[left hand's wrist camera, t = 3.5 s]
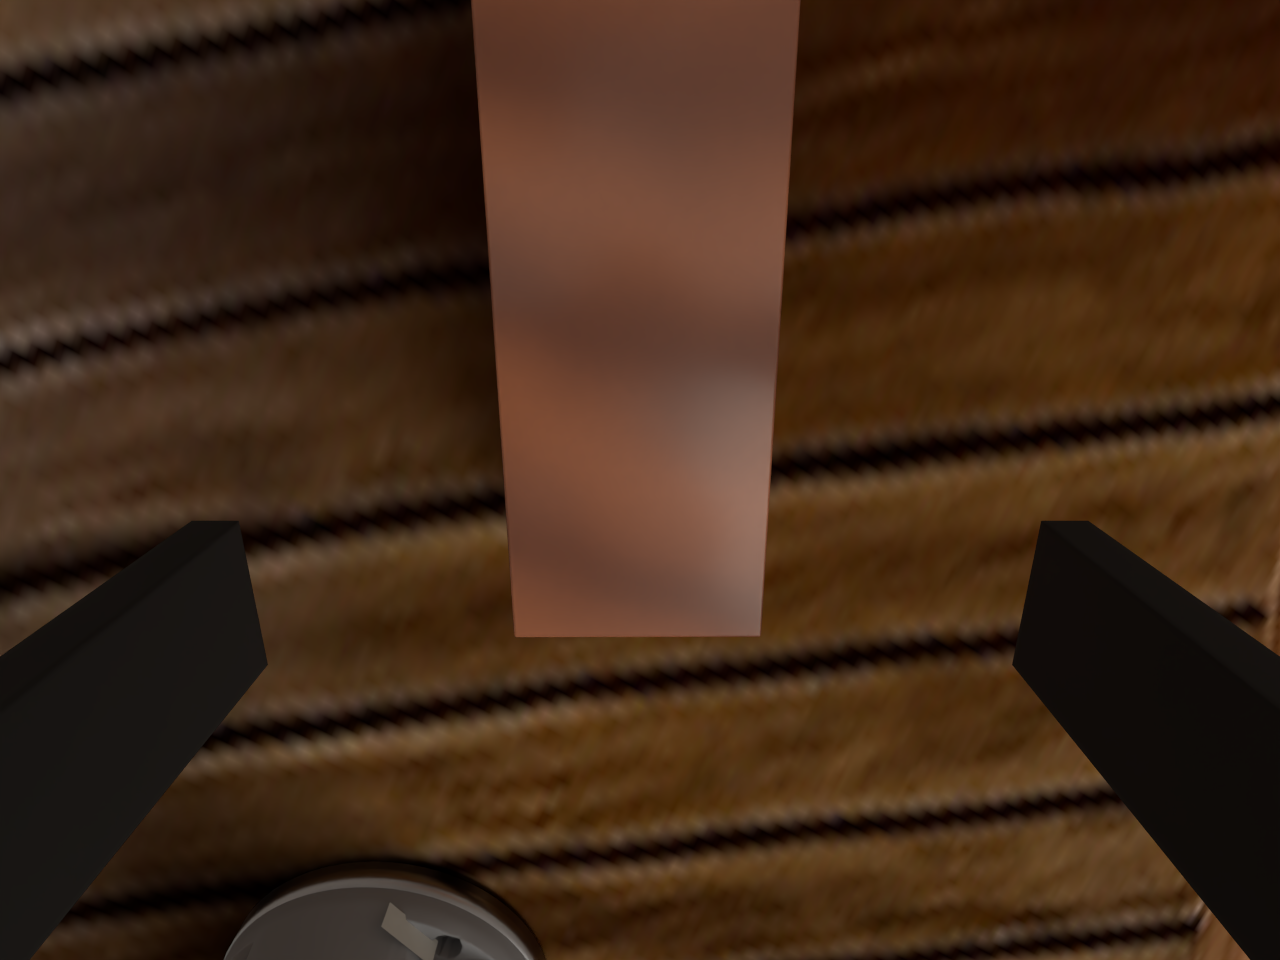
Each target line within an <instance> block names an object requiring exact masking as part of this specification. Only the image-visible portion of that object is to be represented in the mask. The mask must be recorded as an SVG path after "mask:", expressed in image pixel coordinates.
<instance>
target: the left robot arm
mask: <svg viewBox="0 0 1280 960" xmlns="http://www.w3.org/2000/svg"><path fill="white" fill-rule="evenodd" d="M267 665H268V664H267V659H266V654H265V649H264V644H263V639H262V634H261V629H260V624H259V619H258V614H257V609H256V604H255V599H254V594H253V589H252V584H251V579H250V575H249V570H248V565H247V560H246V555H245V550H244V545H243V540H242V535H241V530H240V525H239V521H191V522H190V523H188V524H187V525H185V526H184V527H183V528H181V529H180V530H178V531H177V532H175V533H174V534H173V535H171V536H170V537H168V538H167V539H166V540H164V541H163V542H161V543H160V544H159V545H157V546H156V547H154V548H153V549H152V550H150V551H149V552H147V553H146V554H144V555H143V556H142V557H140V558H139V559H137V560H136V561H135V562H133V563H132V564H130V565H129V566H128V567H126V568H125V569H123V570H122V571H120V572H119V573H118V574H116V575H115V576H113V577H112V578H111V579H109V580H108V581H106V582H105V583H104V584H102V585H101V586H99V587H98V588H96V589H95V590H94V591H92V592H91V593H89V594H88V595H87V596H85V597H84V598H82V599H81V600H80V601H78V602H77V603H75V604H74V605H72V606H71V607H70V608H68V609H67V610H65V611H64V612H63V613H61V614H60V615H58V616H57V617H56V618H54V619H53V620H51V621H50V622H48V623H47V624H46V625H44V626H43V627H41V628H40V629H39V630H37V631H36V632H34V633H33V634H32V635H30V636H29V637H27V638H26V639H24V640H23V641H22V642H20V643H19V644H17V645H16V646H15V647H13V648H12V649H10V650H9V651H8V652H6V653H5V654H3V655H2V656H0V960H30V959H31V957H32V956H33V955H34V954H35V952H36V951H37V950H38V949H39V947H40V946H41V945H42V944H43V943H44V941H45V940H46V939H47V938H48V936H49V935H50V934H51V933H52V931H53V930H54V929H55V928H56V926H57V925H58V924H59V923H60V921H61V920H62V919H63V918H64V916H65V915H66V914H67V913H68V912H69V910H70V909H71V908H72V907H73V905H74V904H75V903H76V902H77V900H78V899H79V898H80V897H81V895H82V894H83V893H84V892H85V890H86V889H87V888H88V887H89V886H90V884H91V883H92V882H93V881H94V879H95V878H96V877H97V876H98V874H99V873H100V872H101V871H102V869H103V868H104V867H105V866H106V864H107V863H108V862H109V861H110V859H111V858H112V857H113V856H114V855H115V853H116V852H117V851H118V850H119V848H120V847H121V846H122V845H123V843H124V842H125V841H126V840H127V838H128V837H129V836H130V835H131V833H132V832H133V831H134V830H135V829H136V827H137V826H138V825H139V824H140V822H141V821H142V820H143V819H144V817H145V816H146V815H147V814H148V812H149V811H150V810H151V809H152V807H153V806H154V805H155V804H156V802H157V801H158V800H159V799H160V798H161V796H162V795H163V794H164V793H165V791H166V790H167V789H168V788H169V786H170V785H171V784H172V783H173V781H174V780H175V779H176V778H177V776H178V775H179V774H180V773H181V772H182V770H183V769H184V768H185V767H186V765H187V764H188V763H189V762H190V760H191V759H192V758H193V757H194V755H195V754H196V753H197V752H198V750H199V749H200V748H201V747H202V745H203V744H204V743H205V742H206V741H207V739H208V738H209V737H210V736H211V734H212V733H213V732H214V731H215V729H216V728H217V727H218V726H219V724H220V723H221V722H222V721H223V719H224V718H225V717H226V716H227V715H228V713H229V712H230V711H231V710H232V708H233V707H234V706H235V705H236V703H237V702H238V701H239V700H240V698H241V697H242V696H243V695H244V693H245V692H246V691H247V690H248V688H249V687H250V686H251V685H252V684H253V682H254V681H255V680H256V679H257V677H258V676H259V675H260V674H261V672H262V671H263V670H264V669H265V667H266V666H267ZM1012 665H1013V666H1014V667H1015V669H1016V670H1017V671H1018V672H1019V674H1020V675H1021V676H1022V677H1023V679H1024V680H1025V681H1026V682H1027V684H1028V685H1029V686H1030V687H1031V688H1032V690H1033V691H1034V692H1035V693H1036V695H1037V696H1038V697H1039V698H1040V700H1041V701H1042V702H1043V703H1044V705H1045V706H1046V707H1047V708H1048V710H1049V711H1050V712H1051V713H1052V715H1053V716H1054V717H1055V718H1056V719H1057V721H1058V722H1059V723H1060V724H1061V726H1062V727H1063V728H1064V729H1065V731H1066V732H1067V733H1068V734H1069V736H1070V737H1071V738H1072V739H1073V741H1074V742H1075V743H1076V744H1077V745H1078V747H1079V748H1080V749H1081V750H1082V752H1083V753H1084V754H1085V755H1086V757H1087V758H1088V759H1089V760H1090V762H1091V763H1092V764H1093V765H1094V767H1095V768H1096V769H1097V770H1098V772H1099V773H1100V774H1101V775H1102V776H1103V778H1104V779H1105V780H1106V781H1107V783H1108V784H1109V785H1110V786H1111V788H1112V789H1113V790H1114V791H1115V793H1116V794H1117V795H1118V796H1119V798H1120V799H1121V800H1122V801H1123V802H1124V804H1125V805H1126V806H1127V807H1128V809H1129V810H1130V811H1131V812H1132V814H1133V815H1134V816H1135V817H1136V819H1137V820H1138V821H1139V822H1140V824H1141V825H1142V826H1143V827H1144V829H1145V830H1146V831H1147V832H1148V833H1149V835H1150V836H1151V837H1152V838H1153V840H1154V841H1155V842H1156V843H1157V845H1158V846H1159V847H1160V848H1161V850H1162V851H1163V852H1164V853H1165V855H1166V856H1167V857H1168V858H1169V859H1170V861H1171V862H1172V863H1173V864H1174V866H1175V867H1176V868H1177V869H1178V871H1179V872H1180V873H1181V874H1182V876H1183V877H1184V878H1185V879H1186V881H1187V882H1188V883H1189V884H1190V886H1191V887H1192V888H1193V889H1194V890H1195V892H1196V893H1197V894H1198V895H1199V897H1200V898H1201V899H1202V900H1203V902H1204V903H1205V904H1206V905H1207V907H1208V908H1209V909H1210V910H1211V912H1212V913H1213V914H1214V915H1215V916H1216V918H1217V919H1218V920H1219V921H1220V923H1221V924H1222V925H1223V926H1224V928H1225V929H1226V930H1227V931H1228V933H1229V934H1230V935H1231V936H1232V938H1233V939H1234V940H1235V941H1236V943H1237V944H1238V945H1239V946H1240V947H1241V949H1242V950H1243V951H1244V952H1245V954H1246V955H1247V956H1248V957H1249V959H1250V960H1280V656H1278V655H1277V654H1275V653H1274V652H1272V651H1271V650H1270V649H1268V648H1267V647H1265V646H1264V645H1263V644H1261V643H1260V642H1258V641H1257V640H1256V639H1254V638H1253V637H1251V636H1250V635H1248V634H1247V633H1246V632H1244V631H1243V630H1241V629H1240V628H1239V627H1237V626H1236V625H1234V624H1233V623H1232V622H1230V621H1229V620H1227V619H1226V618H1224V617H1223V616H1222V615H1220V614H1219V613H1217V612H1216V611H1215V610H1213V609H1212V608H1210V607H1209V606H1208V605H1206V604H1205V603H1203V602H1202V601H1200V600H1199V599H1198V598H1196V597H1195V596H1193V595H1192V594H1191V593H1189V592H1188V591H1186V590H1185V589H1184V588H1182V587H1181V586H1179V585H1178V584H1176V583H1175V582H1174V581H1172V580H1171V579H1169V578H1168V577H1167V576H1165V575H1164V574H1162V573H1161V572H1160V571H1158V570H1157V569H1155V568H1154V567H1152V566H1151V565H1150V564H1148V563H1147V562H1145V561H1144V560H1143V559H1141V558H1140V557H1138V556H1137V555H1136V554H1134V553H1133V552H1131V551H1130V550H1128V549H1127V548H1126V547H1124V546H1123V545H1121V544H1120V543H1119V542H1117V541H1116V540H1114V539H1113V538H1112V537H1110V536H1109V535H1107V534H1106V533H1105V532H1103V531H1102V530H1100V529H1099V528H1097V527H1096V526H1095V525H1093V524H1092V523H1090V522H1089V521H1041V525H1040V530H1039V535H1038V540H1037V545H1036V550H1035V555H1034V560H1033V565H1032V570H1031V575H1030V579H1029V584H1028V589H1027V594H1026V599H1025V604H1024V609H1023V614H1022V619H1021V624H1020V629H1019V634H1018V639H1017V644H1016V649H1015V654H1014V659H1013V664H1012ZM224 960H545V957H544V955H543V952H542V950H541V948H540V946H539V944H538V942H537V940H536V939H535V937H534V936H533V934H532V933H531V931H530V930H529V929H528V927H527V926H526V925H525V924H524V923H523V922H522V920H521V919H520V918H519V917H518V916H517V915H516V914H515V913H514V912H513V911H511V910H510V909H509V908H508V907H507V906H506V905H504V904H503V903H502V902H500V901H499V900H498V899H497V898H495V897H493V896H492V895H490V894H489V893H487V892H486V891H484V890H482V889H480V888H478V887H477V886H475V885H473V884H471V883H469V882H466V881H464V880H462V879H459V878H457V877H455V876H452V875H449V874H446V873H443V872H440V871H437V870H433V869H429V868H425V867H420V866H415V865H410V864H403V863H394V862H354V863H345V864H338V865H333V866H328V867H324V868H320V869H317V870H313V871H310V872H308V873H305V874H302V875H300V876H297V877H295V878H293V879H291V880H289V881H287V882H285V883H283V884H282V885H280V886H279V887H277V888H275V889H274V890H272V891H271V892H270V893H269V894H267V895H266V896H265V897H264V898H262V899H261V900H260V902H259V903H258V904H257V905H256V906H255V907H254V908H253V909H252V910H251V912H250V913H249V914H248V916H247V917H246V919H245V920H244V922H243V924H242V926H241V927H240V929H239V931H238V933H237V935H236V936H235V938H234V940H233V942H232V944H231V946H230V947H229V949H228V951H227V953H226V955H225V958H224Z"/></svg>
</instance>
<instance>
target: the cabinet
mask: <svg viewBox="0 0 1280 960" xmlns="http://www.w3.org/2000/svg"><path fill="white" fill-rule="evenodd" d="M800 1H801V0H471V9H472V23H473V38H474V53H475V67H476V82H477V97H478V111H479V126H480V140H481V155H482V170H483V184H484V199H485V214H486V228H487V243H488V257H489V272H490V287H491V301H492V316H493V330H494V345H495V360H496V374H497V389H498V404H499V418H500V433H501V447H502V462H503V477H504V491H505V506H506V520H507V535H508V550H509V564H510V579H511V594H512V608H513V623H514V635H515V637H759V636H760V635H761V624H762V608H763V592H764V576H765V560H766V544H767V528H768V512H769V496H770V480H771V464H772V448H773V432H774V416H775V400H776V384H777V368H778V352H779V336H780V320H781V304H782V288H783V272H784V257H785V241H786V225H787V209H788V193H789V177H790V161H791V145H792V129H793V113H794V97H795V81H796V65H797V49H798V33H799V17H800Z"/></svg>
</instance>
